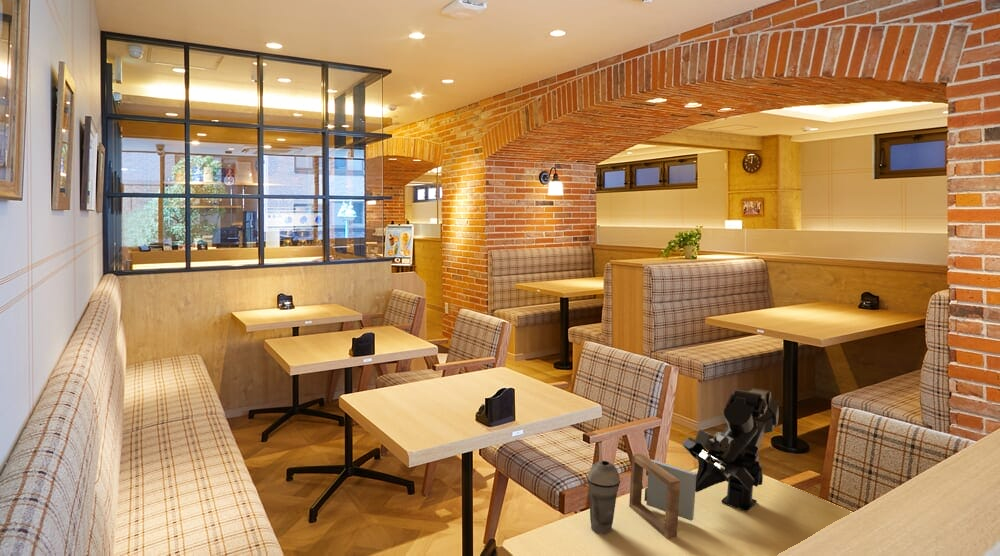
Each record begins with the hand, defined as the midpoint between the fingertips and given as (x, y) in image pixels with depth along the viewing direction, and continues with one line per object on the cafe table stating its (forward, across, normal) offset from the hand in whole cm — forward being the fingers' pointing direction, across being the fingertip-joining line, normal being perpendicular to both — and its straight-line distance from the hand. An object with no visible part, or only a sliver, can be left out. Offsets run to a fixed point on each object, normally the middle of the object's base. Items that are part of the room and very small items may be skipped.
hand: (694, 490), depth 140 cm
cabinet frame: (+12, -2, -2) cm, 12 cm away
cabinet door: (+7, -3, +1) cm, 8 cm away
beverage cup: (+21, -3, -11) cm, 24 cm away
